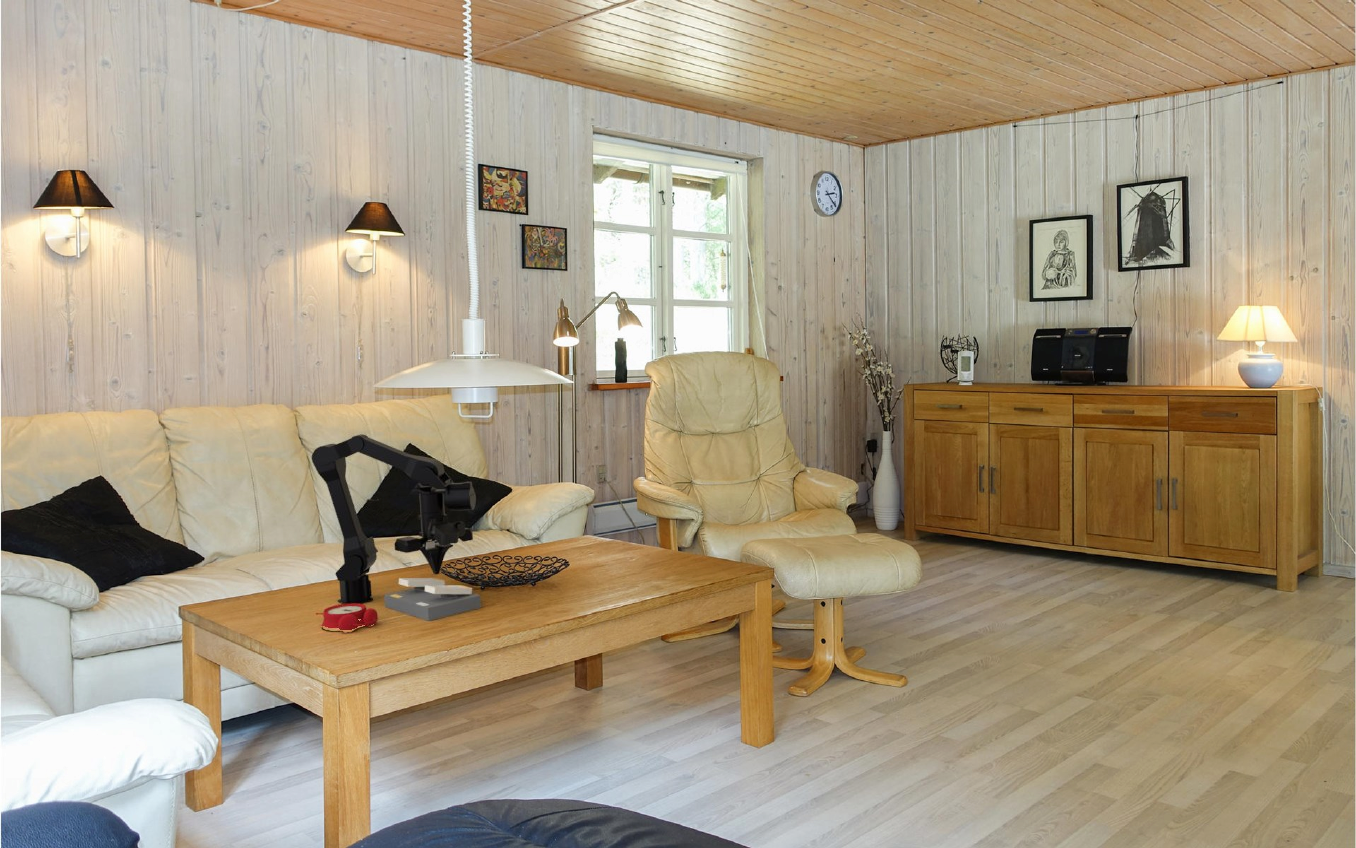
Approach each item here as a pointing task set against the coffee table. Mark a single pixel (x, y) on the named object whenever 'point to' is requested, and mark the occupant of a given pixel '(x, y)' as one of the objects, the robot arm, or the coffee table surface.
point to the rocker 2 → (448, 589)
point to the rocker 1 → (420, 582)
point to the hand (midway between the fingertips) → (436, 574)
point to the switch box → (431, 603)
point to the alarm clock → (348, 616)
